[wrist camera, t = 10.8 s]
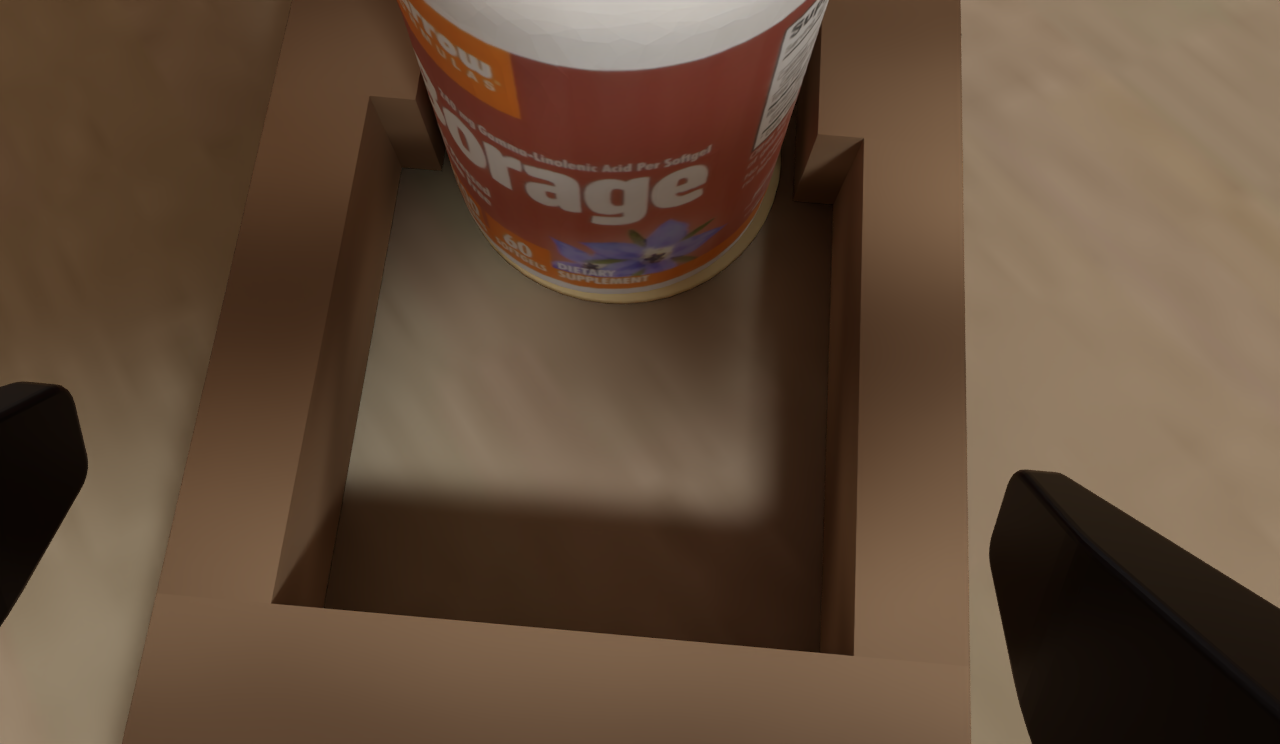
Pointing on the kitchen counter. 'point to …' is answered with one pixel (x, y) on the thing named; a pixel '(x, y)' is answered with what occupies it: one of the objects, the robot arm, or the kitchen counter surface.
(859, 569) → the wooden rectangular frame
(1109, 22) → the kitchen counter surface
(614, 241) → the pill bottle
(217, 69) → the kitchen counter surface
